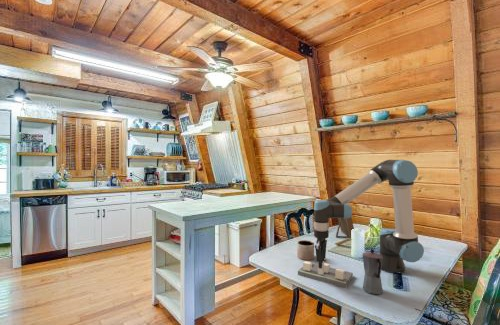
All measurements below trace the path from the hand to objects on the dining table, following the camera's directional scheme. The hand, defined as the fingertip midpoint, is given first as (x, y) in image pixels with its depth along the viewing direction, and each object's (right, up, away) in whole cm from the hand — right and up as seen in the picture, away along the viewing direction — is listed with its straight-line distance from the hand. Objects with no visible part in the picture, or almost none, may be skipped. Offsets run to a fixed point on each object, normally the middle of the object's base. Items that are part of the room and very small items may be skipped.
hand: (320, 273), depth 139 cm
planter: (-1, -3, +32) cm, 33 cm away
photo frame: (+40, -3, +81) cm, 90 cm away
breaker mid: (+4, -1, +6) cm, 7 cm away
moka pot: (+23, -4, -10) cm, 26 cm away
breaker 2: (+9, -2, -2) cm, 10 cm away
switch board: (+4, -4, +6) cm, 8 cm away
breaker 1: (-5, -1, +8) cm, 10 cm away
